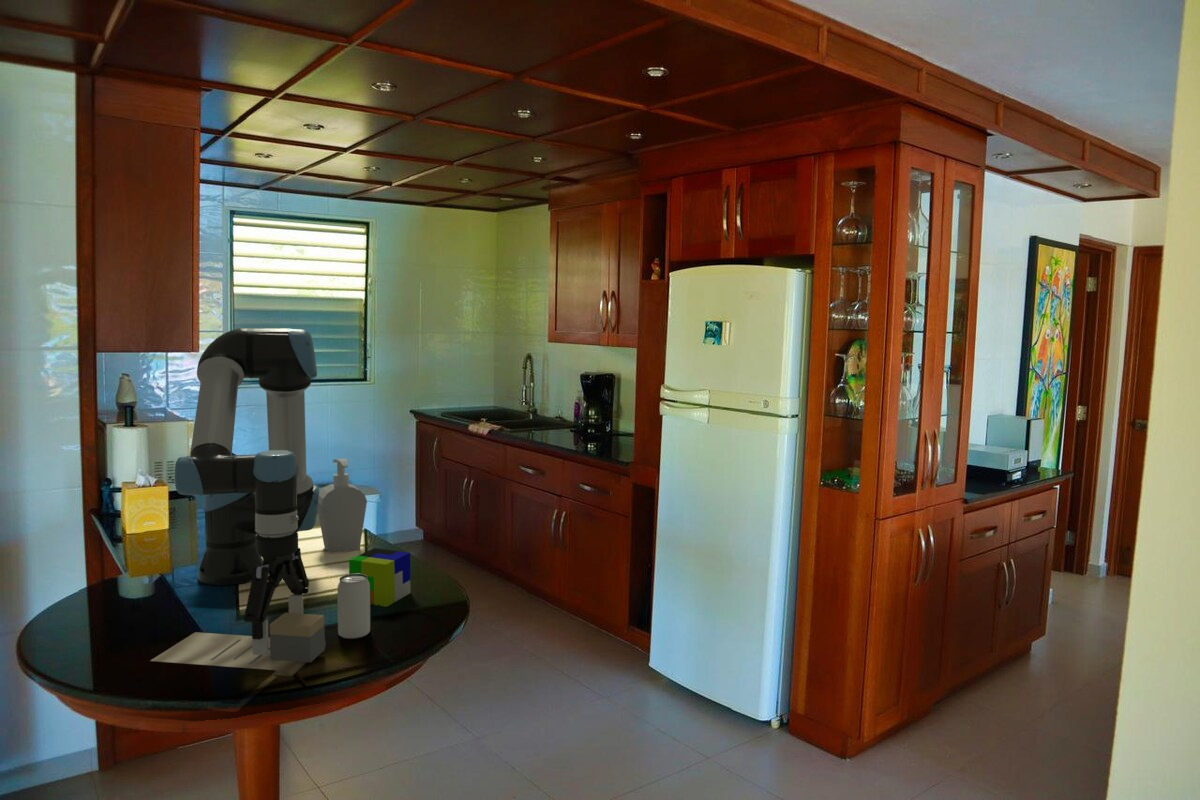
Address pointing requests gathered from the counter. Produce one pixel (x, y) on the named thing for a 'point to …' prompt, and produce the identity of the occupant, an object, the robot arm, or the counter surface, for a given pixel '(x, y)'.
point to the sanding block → (297, 637)
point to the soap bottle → (341, 512)
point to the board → (225, 653)
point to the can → (353, 606)
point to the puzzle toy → (384, 574)
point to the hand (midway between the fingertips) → (279, 639)
